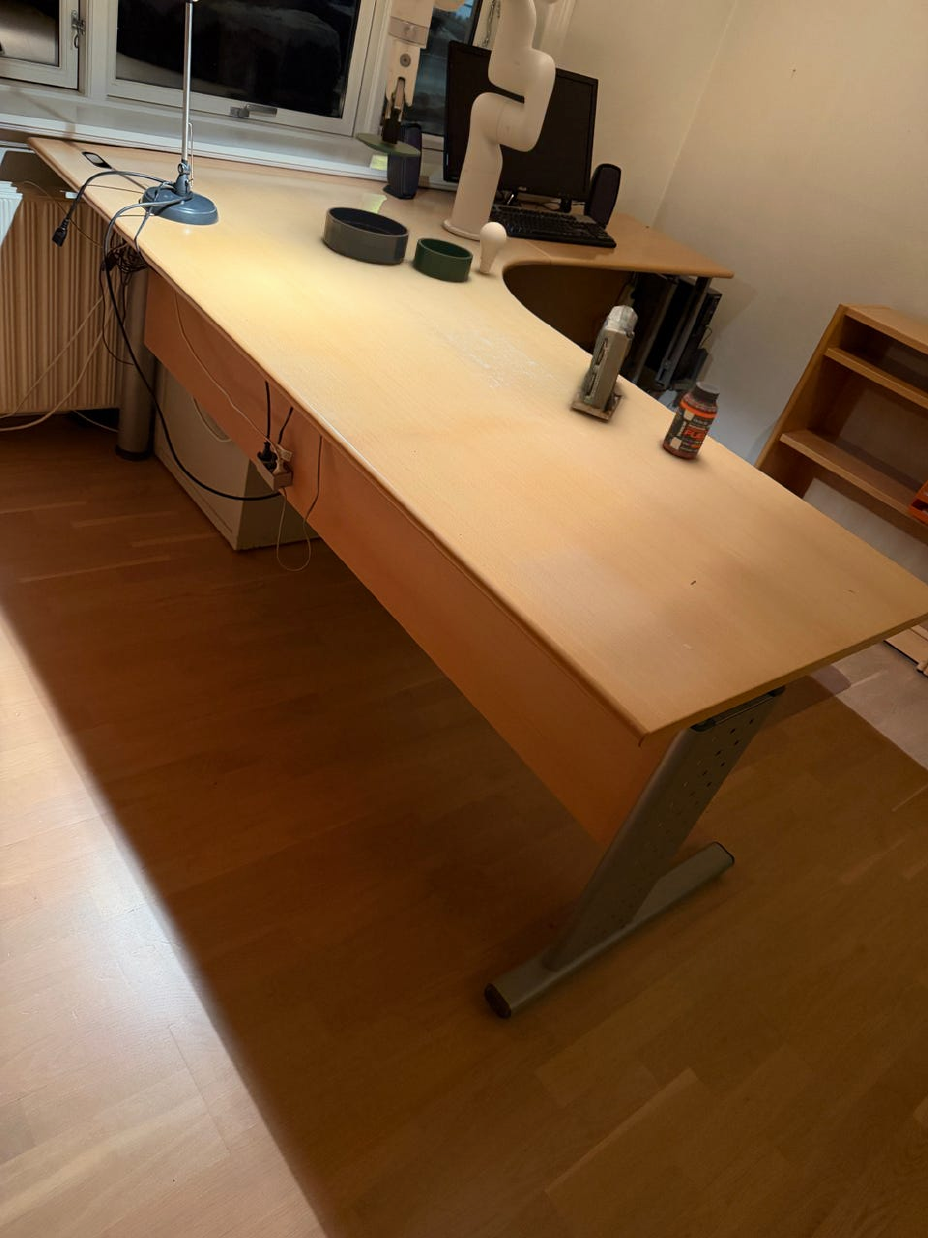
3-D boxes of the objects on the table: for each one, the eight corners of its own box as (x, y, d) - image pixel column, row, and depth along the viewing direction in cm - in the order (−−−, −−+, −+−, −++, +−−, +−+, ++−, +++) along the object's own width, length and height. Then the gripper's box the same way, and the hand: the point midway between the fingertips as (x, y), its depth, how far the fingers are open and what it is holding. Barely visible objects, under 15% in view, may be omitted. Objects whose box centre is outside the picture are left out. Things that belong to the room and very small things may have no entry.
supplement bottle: (675, 459, 134) (704, 394, 127) (655, 440, 138) (682, 376, 131) (703, 460, 137) (733, 396, 130) (682, 442, 141) (711, 379, 134)
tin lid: (354, 134, 173) (359, 100, 169) (416, 151, 176) (423, 118, 173) (355, 146, 163) (360, 111, 159) (421, 164, 166) (428, 130, 162)
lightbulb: (493, 279, 189) (507, 229, 183) (468, 271, 189) (481, 220, 183) (498, 273, 194) (511, 224, 188) (473, 265, 194) (486, 216, 188)
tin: (410, 256, 187) (415, 233, 184) (464, 269, 190) (469, 246, 187) (414, 273, 177) (419, 249, 174) (470, 286, 180) (476, 263, 178)
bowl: (323, 229, 186) (327, 200, 183) (401, 247, 191) (407, 220, 187) (321, 252, 172) (326, 221, 169) (406, 271, 177) (412, 242, 173)
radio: (592, 369, 158) (620, 291, 149) (634, 386, 157) (665, 308, 148) (558, 405, 140) (588, 318, 131) (606, 424, 138) (639, 337, 129)
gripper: (431, 43, 152) (409, 153, 163) (423, 35, 165) (404, 138, 176) (390, 31, 151) (371, 143, 161) (386, 24, 163) (369, 128, 174)
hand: (388, 139), depth 169 cm, fingers closed on tin lid, 3 cm apart
